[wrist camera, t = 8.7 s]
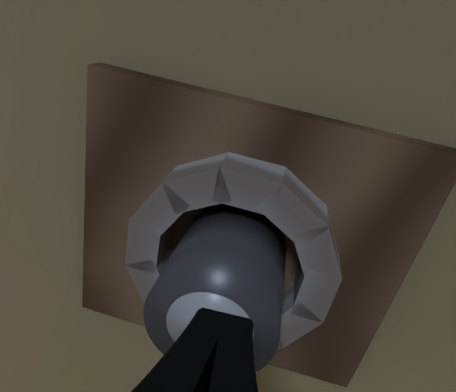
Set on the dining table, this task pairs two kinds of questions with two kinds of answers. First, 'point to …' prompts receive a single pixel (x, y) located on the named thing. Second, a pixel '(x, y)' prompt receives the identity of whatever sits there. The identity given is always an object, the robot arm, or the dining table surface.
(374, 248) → the collar
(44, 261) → the dining table surface
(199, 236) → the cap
